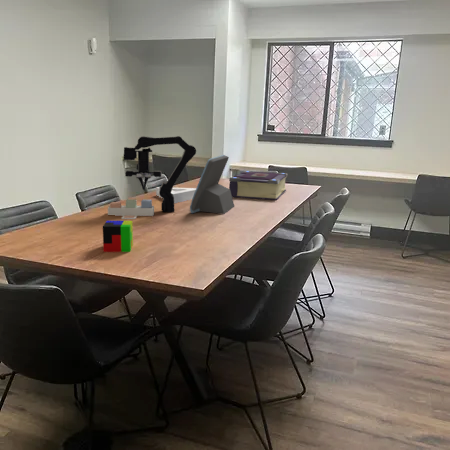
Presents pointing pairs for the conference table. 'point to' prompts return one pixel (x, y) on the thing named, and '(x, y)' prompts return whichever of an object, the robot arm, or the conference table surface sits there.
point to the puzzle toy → (117, 236)
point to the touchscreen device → (212, 189)
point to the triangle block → (180, 194)
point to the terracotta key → (115, 205)
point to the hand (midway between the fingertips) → (144, 189)
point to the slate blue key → (146, 204)
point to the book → (258, 185)
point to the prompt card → (129, 217)
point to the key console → (131, 211)
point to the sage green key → (131, 203)
